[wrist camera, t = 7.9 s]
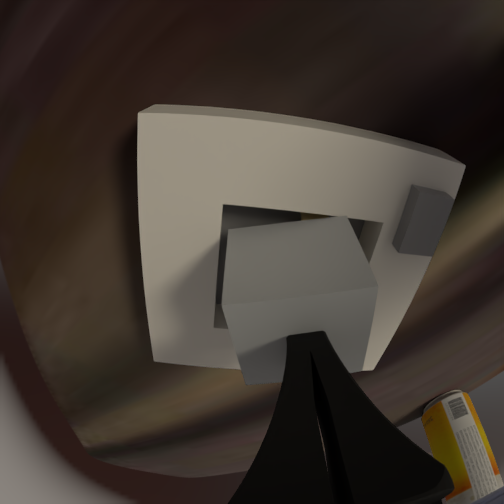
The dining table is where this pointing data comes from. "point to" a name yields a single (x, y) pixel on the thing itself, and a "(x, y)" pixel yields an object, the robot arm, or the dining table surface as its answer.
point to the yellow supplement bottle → (461, 447)
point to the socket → (275, 212)
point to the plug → (296, 292)
